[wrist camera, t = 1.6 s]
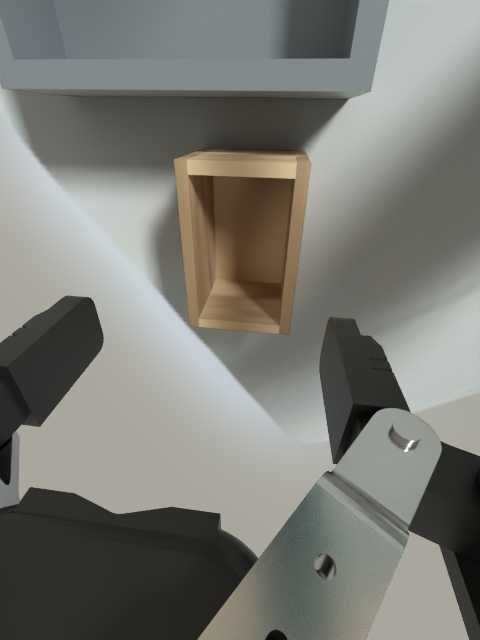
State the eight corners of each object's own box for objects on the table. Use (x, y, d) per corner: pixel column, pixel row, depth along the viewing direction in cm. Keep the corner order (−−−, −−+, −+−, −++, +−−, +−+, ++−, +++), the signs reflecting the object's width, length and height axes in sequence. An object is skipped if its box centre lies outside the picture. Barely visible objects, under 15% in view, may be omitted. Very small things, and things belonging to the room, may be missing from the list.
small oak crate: (304, 151, 18) (311, 163, 13) (288, 287, 23) (288, 334, 18) (204, 148, 18) (173, 159, 13) (210, 282, 23) (189, 326, 18)
